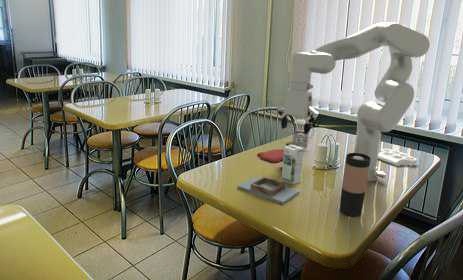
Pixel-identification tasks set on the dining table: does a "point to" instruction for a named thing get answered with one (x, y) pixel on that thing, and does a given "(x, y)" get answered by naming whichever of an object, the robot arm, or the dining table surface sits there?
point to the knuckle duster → (396, 157)
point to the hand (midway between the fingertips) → (295, 130)
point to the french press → (299, 136)
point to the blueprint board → (279, 197)
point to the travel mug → (354, 184)
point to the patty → (272, 156)
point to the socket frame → (265, 190)
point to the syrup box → (292, 164)
